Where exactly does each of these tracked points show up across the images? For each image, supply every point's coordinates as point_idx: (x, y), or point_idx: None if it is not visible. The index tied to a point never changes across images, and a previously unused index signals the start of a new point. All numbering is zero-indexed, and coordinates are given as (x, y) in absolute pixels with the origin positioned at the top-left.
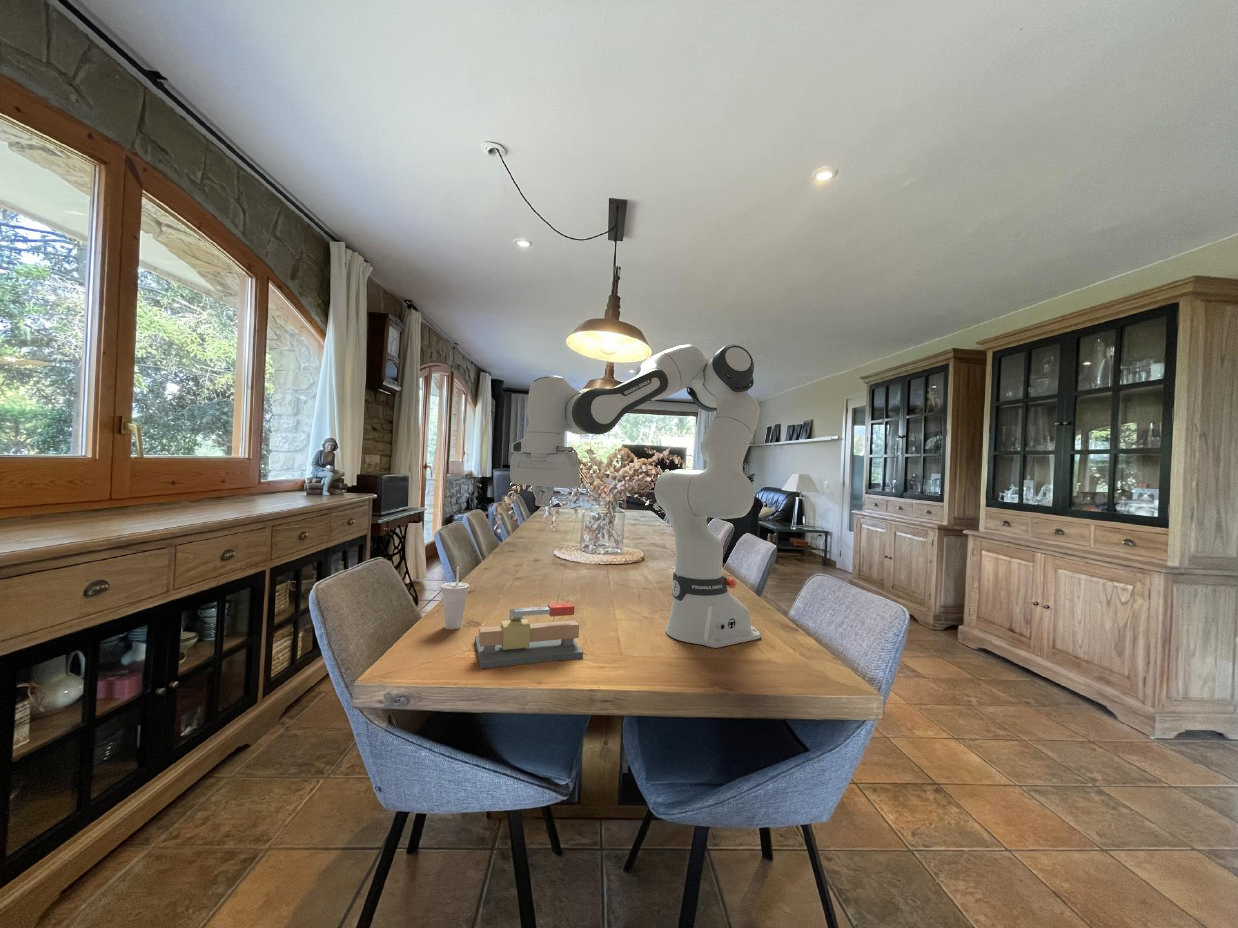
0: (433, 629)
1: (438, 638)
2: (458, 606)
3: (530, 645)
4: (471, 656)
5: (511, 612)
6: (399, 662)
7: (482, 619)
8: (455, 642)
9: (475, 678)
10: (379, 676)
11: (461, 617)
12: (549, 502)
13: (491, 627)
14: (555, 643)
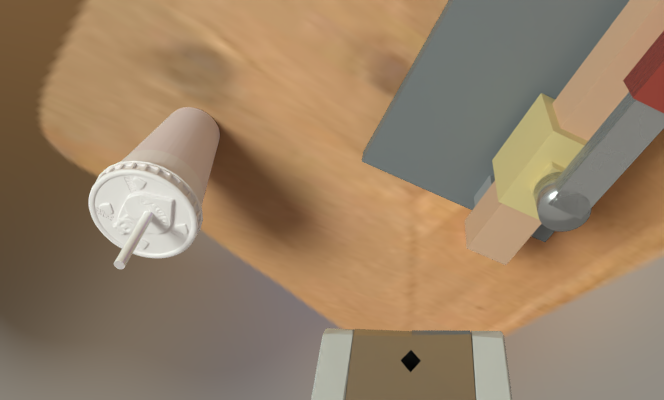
0: None
1: (271, 205)
2: (207, 180)
3: (562, 82)
4: (455, 209)
5: (563, 228)
6: (369, 319)
7: (166, 18)
8: (330, 189)
9: (579, 264)
10: None
11: (209, 139)
12: (505, 363)
13: (494, 225)
14: (625, 3)
